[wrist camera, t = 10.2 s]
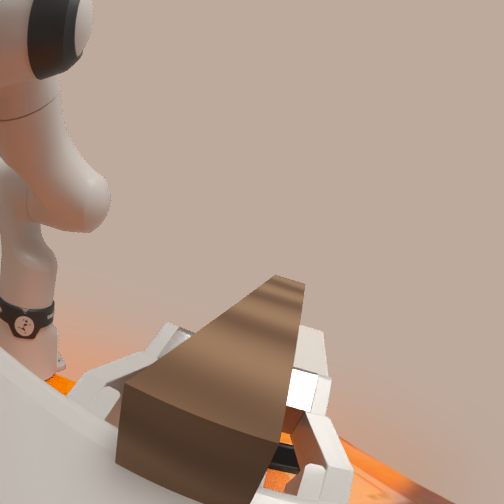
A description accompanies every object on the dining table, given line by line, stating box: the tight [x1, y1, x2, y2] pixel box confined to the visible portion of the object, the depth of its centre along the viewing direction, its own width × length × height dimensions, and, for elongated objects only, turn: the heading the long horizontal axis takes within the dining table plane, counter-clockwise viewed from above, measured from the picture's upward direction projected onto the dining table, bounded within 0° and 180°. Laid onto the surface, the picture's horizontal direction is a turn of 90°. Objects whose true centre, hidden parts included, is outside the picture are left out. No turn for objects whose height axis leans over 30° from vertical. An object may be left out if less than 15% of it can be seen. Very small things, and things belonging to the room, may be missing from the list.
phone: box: [268, 442, 301, 474], centre depth 48 cm, size 8×1×15 cm
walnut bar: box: [115, 275, 305, 504], centre depth 18 cm, size 26×3×3 cm, turn 167°
